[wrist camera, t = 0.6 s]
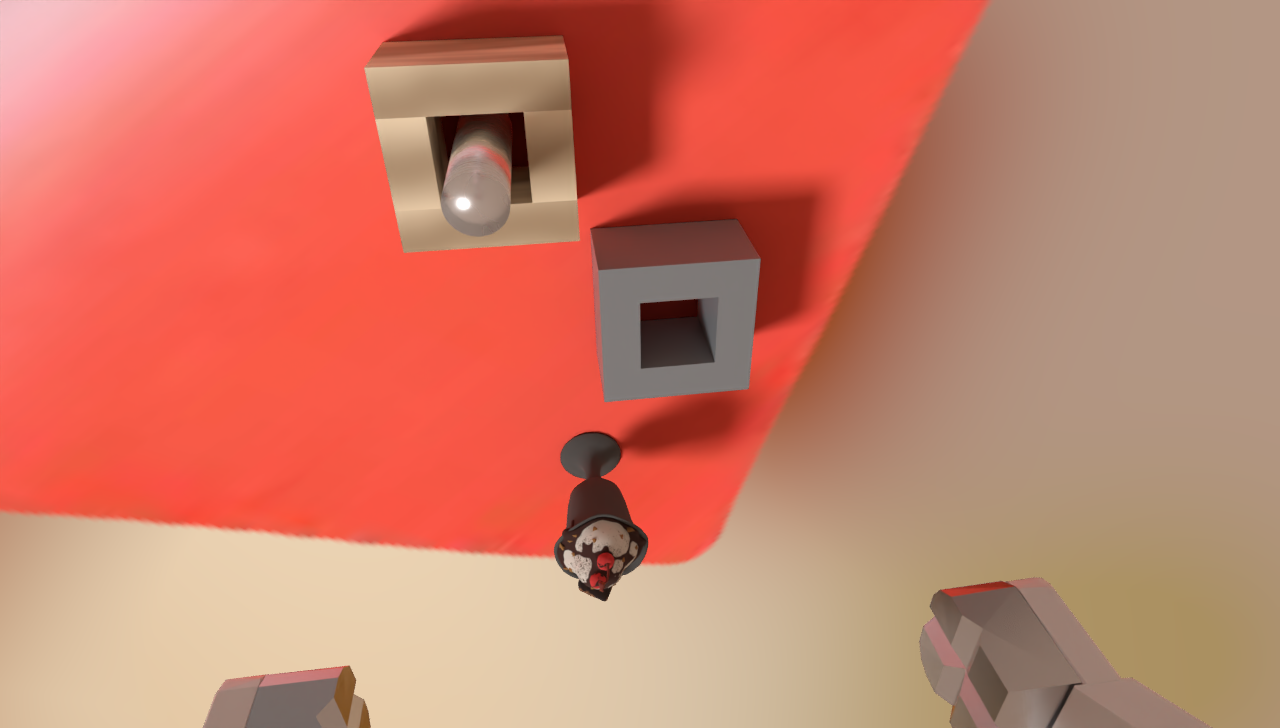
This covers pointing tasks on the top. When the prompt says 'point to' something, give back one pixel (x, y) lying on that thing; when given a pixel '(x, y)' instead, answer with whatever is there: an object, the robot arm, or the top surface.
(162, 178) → the top surface
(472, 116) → the pin
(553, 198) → the mount block
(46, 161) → the top surface
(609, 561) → the sundae
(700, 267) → the dock block
